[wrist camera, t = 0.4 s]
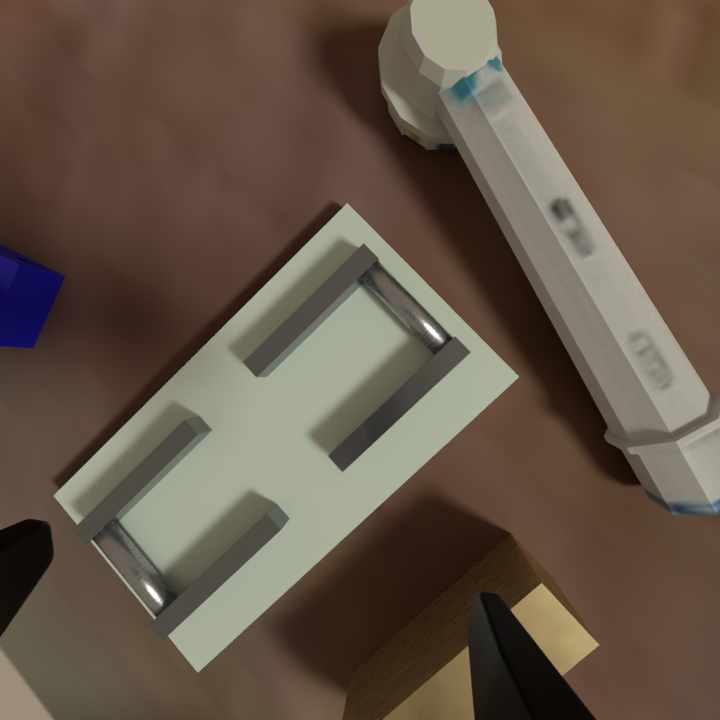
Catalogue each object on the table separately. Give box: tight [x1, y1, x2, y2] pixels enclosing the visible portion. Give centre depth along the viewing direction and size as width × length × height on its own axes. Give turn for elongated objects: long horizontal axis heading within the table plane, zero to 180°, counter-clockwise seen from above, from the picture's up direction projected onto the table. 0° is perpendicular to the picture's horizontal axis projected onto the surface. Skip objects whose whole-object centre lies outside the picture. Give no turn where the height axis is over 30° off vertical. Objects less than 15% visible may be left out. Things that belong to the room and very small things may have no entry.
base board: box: [54, 203, 519, 672], centre depth 22 cm, size 12×22×1 cm, turn 134°
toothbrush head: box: [378, 0, 720, 515], centre depth 19 cm, size 5×7×25 cm
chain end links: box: [73, 243, 471, 640], centre depth 21 cm, size 7×20×2 cm, turn 134°
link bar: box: [342, 534, 599, 720], centre depth 19 cm, size 3×11×5 cm, turn 133°
